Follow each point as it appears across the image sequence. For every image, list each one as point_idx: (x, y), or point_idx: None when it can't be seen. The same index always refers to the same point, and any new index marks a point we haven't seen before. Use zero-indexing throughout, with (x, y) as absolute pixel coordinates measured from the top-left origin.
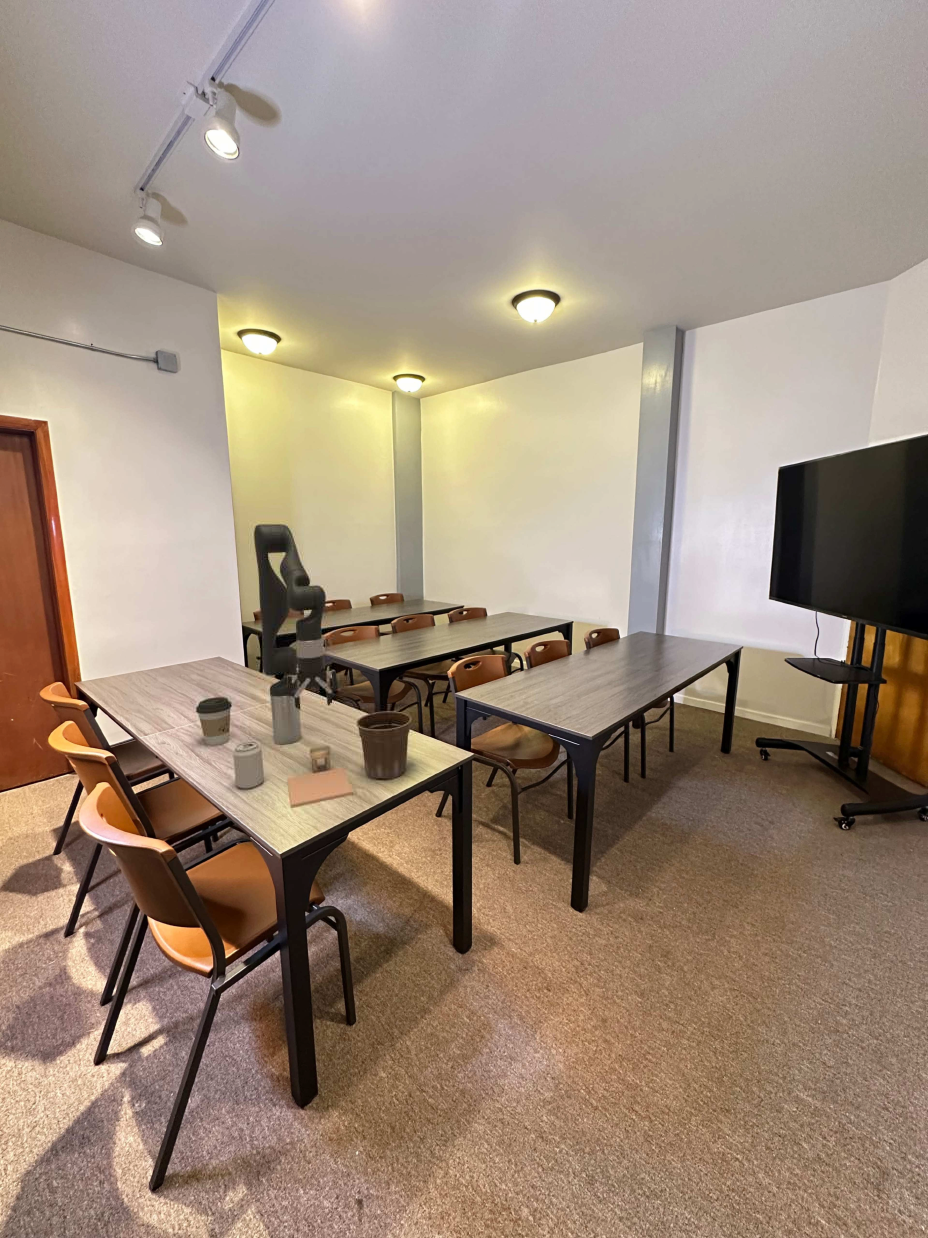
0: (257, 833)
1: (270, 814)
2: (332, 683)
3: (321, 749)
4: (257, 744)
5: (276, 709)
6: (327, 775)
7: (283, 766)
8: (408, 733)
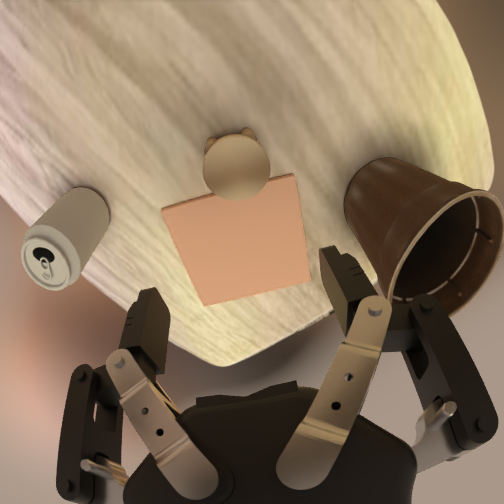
0: (177, 344)
1: (175, 313)
2: (424, 339)
3: (242, 175)
4: (65, 266)
5: None
6: (257, 210)
7: (125, 126)
8: (466, 262)
